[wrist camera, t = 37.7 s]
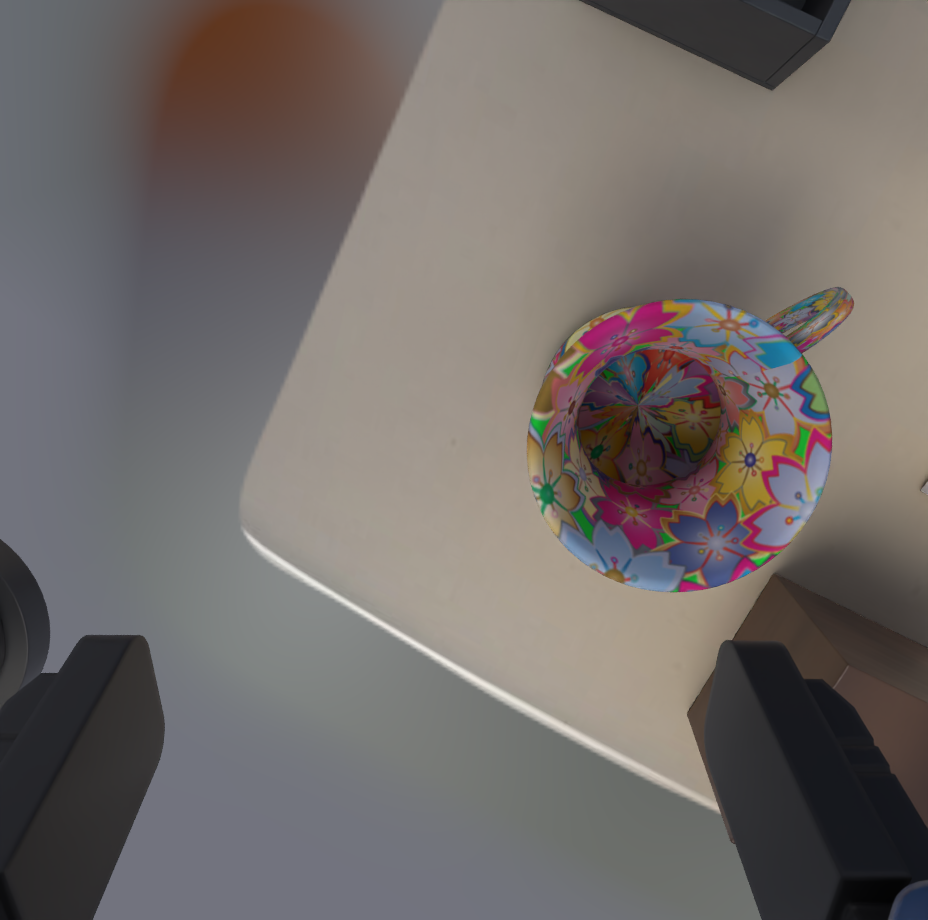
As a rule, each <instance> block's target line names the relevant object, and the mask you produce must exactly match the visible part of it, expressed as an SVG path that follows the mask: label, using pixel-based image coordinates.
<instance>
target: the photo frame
mask: <svg viewBox="0 0 928 920" xmlns="http://www.w3.org/2000/svg"><path fill="white" fill-rule="evenodd" d="M920 491H922V492H923V493H925V494H927V495H928V481H927V483H926V484H925V485H924V487H923V488H922V489H921V490H920Z"/></svg>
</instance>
